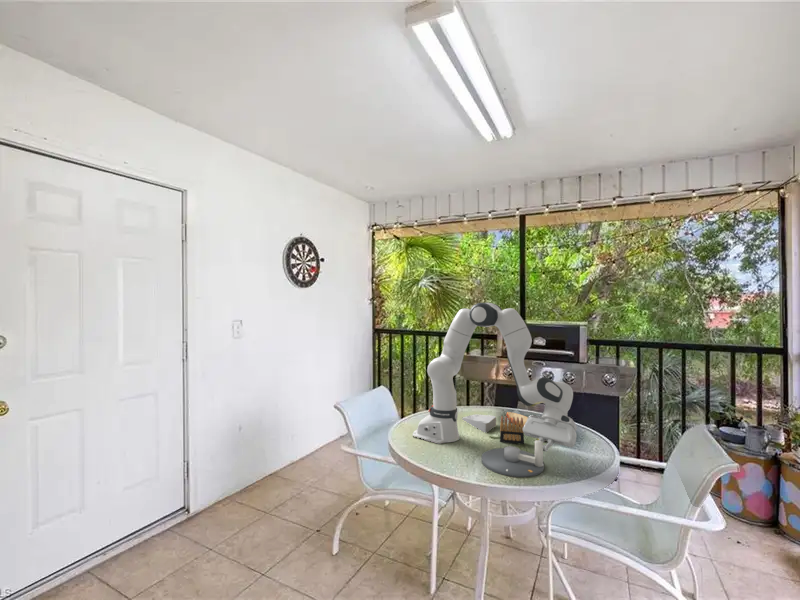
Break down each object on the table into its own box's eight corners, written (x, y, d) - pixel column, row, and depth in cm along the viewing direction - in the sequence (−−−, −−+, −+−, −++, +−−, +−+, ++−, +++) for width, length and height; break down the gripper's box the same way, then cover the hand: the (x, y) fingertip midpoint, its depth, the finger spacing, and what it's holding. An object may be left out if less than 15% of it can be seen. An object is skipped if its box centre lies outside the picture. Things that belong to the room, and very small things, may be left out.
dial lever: (502, 459, 150) (502, 436, 150) (507, 454, 155) (507, 432, 155) (540, 469, 141) (540, 444, 141) (545, 464, 146) (545, 440, 146)
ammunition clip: (500, 441, 174) (500, 416, 174) (499, 440, 176) (499, 414, 176) (524, 444, 171) (524, 417, 172) (523, 442, 173) (523, 416, 173)
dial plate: (474, 469, 145) (474, 464, 145) (488, 448, 166) (488, 444, 166) (540, 482, 134) (540, 477, 134) (546, 457, 156) (546, 453, 156)
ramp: (459, 417, 213) (459, 407, 213) (486, 417, 214) (486, 407, 214) (471, 434, 185) (471, 423, 185) (502, 434, 186) (502, 423, 186)
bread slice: (508, 414, 219) (508, 408, 219) (539, 421, 206) (539, 414, 206) (493, 421, 206) (493, 414, 206) (524, 429, 193) (524, 421, 193)
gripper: (526, 409, 158) (515, 439, 151) (576, 420, 143) (566, 453, 136) (532, 418, 161) (521, 447, 154) (581, 429, 146) (571, 461, 139)
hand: (542, 450), depth 145 cm, fingers closed, pressing on dial lever
